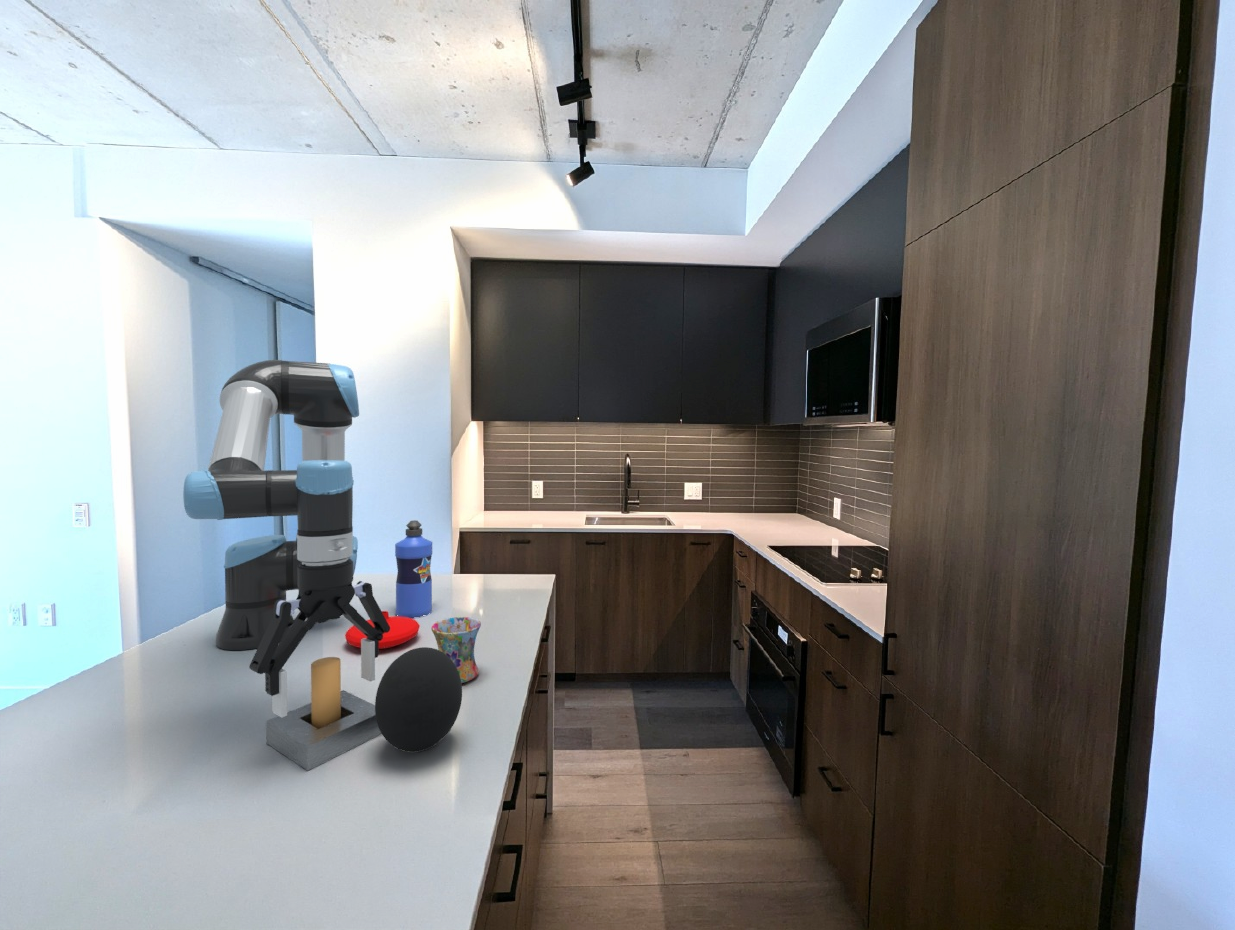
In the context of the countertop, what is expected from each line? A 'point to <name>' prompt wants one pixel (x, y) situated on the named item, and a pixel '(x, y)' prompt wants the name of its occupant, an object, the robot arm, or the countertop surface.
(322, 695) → the orange cylindrical peg
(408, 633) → the red pot lid
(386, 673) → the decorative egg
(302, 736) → the grey peg socket
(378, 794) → the countertop surface
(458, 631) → the mug
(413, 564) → the water bottle
